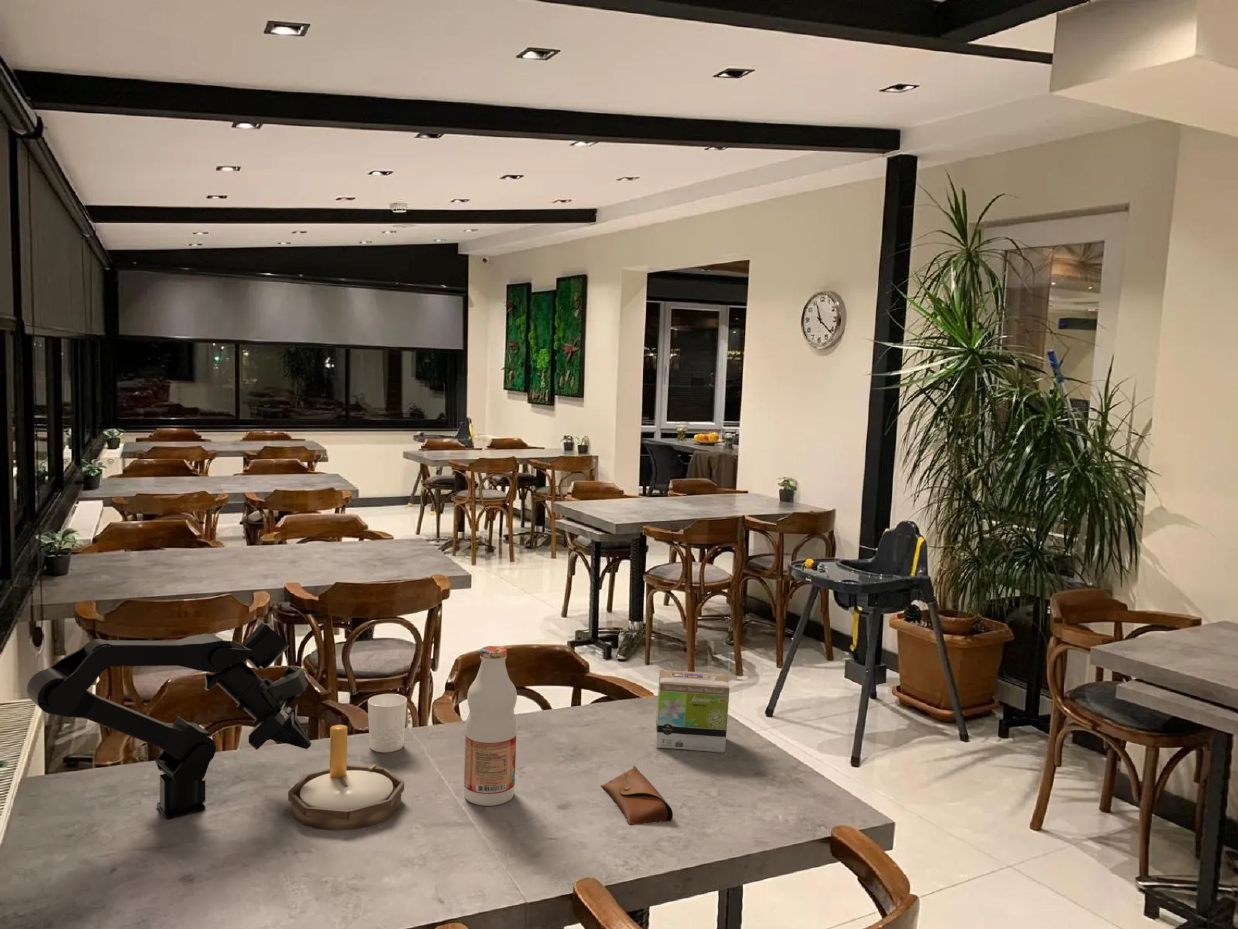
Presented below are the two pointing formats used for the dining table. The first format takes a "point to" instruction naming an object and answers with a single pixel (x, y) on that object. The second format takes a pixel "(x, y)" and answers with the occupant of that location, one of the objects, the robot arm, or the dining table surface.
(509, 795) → the fruit juice
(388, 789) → the dial
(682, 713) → the tea box
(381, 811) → the dial housing
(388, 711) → the white cup
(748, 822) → the dining table surface
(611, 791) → the sunglasses case
